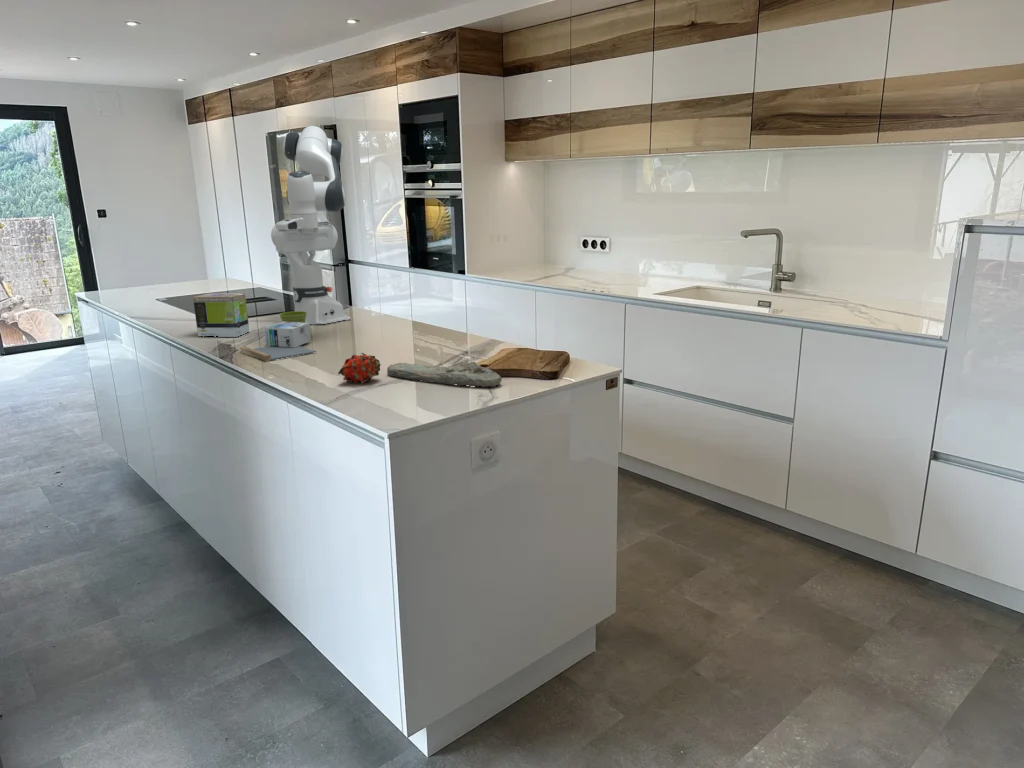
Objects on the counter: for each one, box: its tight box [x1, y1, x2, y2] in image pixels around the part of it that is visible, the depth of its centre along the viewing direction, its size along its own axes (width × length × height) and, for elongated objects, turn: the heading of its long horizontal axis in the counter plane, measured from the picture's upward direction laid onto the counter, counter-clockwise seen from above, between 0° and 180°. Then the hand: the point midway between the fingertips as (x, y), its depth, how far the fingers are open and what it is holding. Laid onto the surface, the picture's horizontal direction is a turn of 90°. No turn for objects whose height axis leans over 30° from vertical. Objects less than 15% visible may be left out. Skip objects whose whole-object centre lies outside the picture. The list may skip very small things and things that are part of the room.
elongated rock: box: [386, 361, 502, 388], centre depth 190 cm, size 35×5×10 cm
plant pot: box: [278, 310, 307, 323], centre depth 246 cm, size 9×9×9 cm
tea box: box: [192, 292, 250, 338], centre depth 250 cm, size 15×10×15 cm, turn 84°
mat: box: [253, 345, 317, 361], centre depth 224 cm, size 15×18×1 cm
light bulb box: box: [264, 320, 312, 348], centre depth 233 cm, size 11×7×11 cm
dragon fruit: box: [337, 352, 382, 385], centre depth 188 cm, size 8×8×12 cm
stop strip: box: [240, 346, 271, 362], centre depth 218 cm, size 2×18×2 cm, turn 45°
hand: (308, 265), depth 233 cm, fingers closed
